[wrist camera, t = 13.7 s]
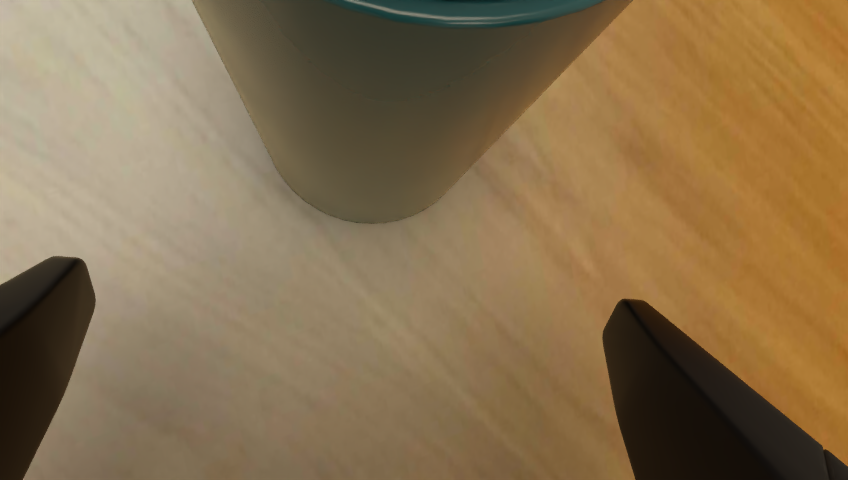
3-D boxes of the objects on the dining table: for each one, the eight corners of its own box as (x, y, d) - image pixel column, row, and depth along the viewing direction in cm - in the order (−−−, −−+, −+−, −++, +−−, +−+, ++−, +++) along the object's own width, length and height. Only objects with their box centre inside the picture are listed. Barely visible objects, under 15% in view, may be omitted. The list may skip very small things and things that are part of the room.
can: (508, 161, 18) (942, -198, 5) (331, 262, 16) (295, 138, 4) (406, -11, 18) (569, -798, 5) (223, 77, 17) (-175, -661, 4)
